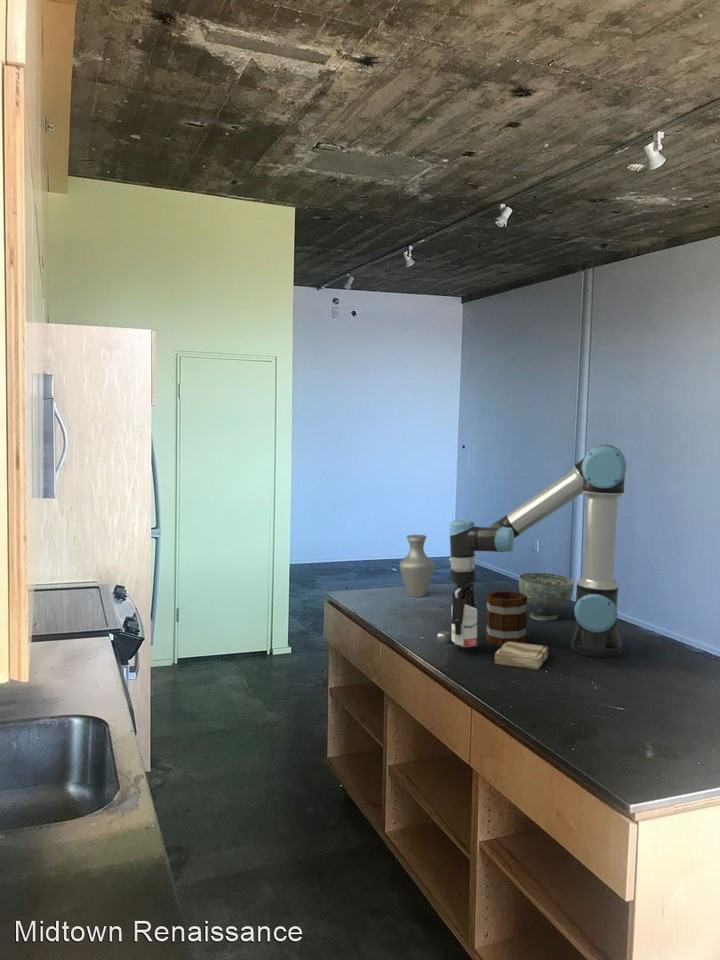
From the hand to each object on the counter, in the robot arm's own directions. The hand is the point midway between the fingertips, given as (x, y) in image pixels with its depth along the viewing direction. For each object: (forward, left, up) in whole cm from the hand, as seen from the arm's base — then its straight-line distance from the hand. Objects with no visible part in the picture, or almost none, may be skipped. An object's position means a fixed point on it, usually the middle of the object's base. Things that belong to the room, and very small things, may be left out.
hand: (464, 640), depth 234 cm
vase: (-64, -41, -4) cm, 76 cm away
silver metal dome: (-7, -9, -4) cm, 12 cm away
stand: (+1, +19, -4) cm, 19 cm away
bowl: (-51, +15, -4) cm, 53 cm away
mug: (-20, +9, -4) cm, 22 cm away
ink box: (0, 0, -1) cm, 1 cm away
